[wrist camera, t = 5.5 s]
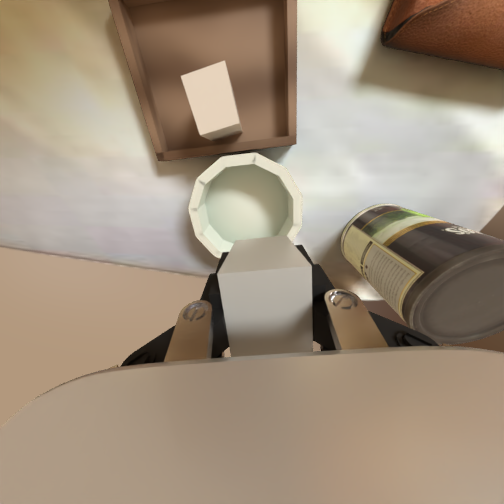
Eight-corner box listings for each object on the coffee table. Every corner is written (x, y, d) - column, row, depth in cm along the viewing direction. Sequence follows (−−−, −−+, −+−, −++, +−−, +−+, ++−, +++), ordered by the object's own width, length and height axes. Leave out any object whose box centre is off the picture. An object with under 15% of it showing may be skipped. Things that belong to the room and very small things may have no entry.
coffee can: (374, 189, 24) (509, 221, 11) (426, 223, 26) (587, 283, 14) (325, 250, 28) (384, 323, 16) (373, 275, 30) (459, 357, 18)
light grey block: (235, 240, 12) (217, 274, 7) (286, 235, 12) (311, 266, 7) (242, 291, 14) (231, 358, 8) (288, 287, 13) (313, 354, 8)
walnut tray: (118, -2, 16) (100, -23, 14) (291, -32, 16) (297, -59, 14) (166, 161, 22) (158, 161, 20) (292, 145, 22) (296, 143, 20)
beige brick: (200, 99, 19) (180, 76, 14) (232, 88, 19) (224, 60, 14) (213, 141, 21) (199, 135, 16) (242, 132, 21) (239, 122, 15)
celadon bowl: (189, 161, 22) (175, 162, 18) (294, 148, 22) (303, 146, 18) (211, 253, 28) (204, 268, 24) (294, 245, 28) (301, 259, 24)
